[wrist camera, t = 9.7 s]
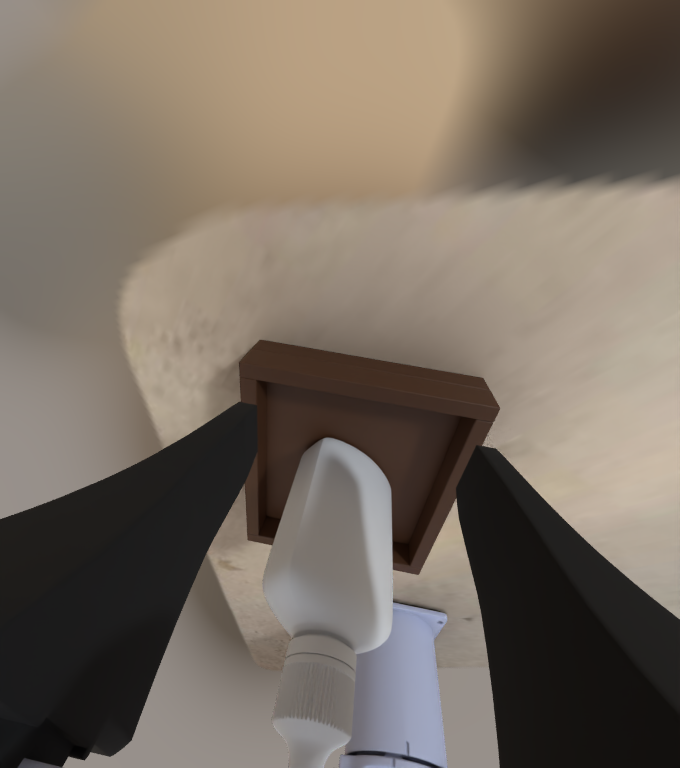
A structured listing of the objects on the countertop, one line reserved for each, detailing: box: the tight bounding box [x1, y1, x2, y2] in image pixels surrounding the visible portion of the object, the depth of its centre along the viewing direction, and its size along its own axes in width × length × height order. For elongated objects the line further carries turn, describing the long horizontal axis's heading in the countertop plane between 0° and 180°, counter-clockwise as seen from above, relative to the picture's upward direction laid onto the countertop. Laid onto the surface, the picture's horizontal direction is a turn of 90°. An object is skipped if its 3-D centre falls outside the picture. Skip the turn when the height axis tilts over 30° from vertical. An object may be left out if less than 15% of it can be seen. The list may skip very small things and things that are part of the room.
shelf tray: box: [239, 340, 500, 575], centre depth 18 cm, size 14×12×3 cm
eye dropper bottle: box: [263, 437, 393, 768], centre depth 13 cm, size 4×6×12 cm
